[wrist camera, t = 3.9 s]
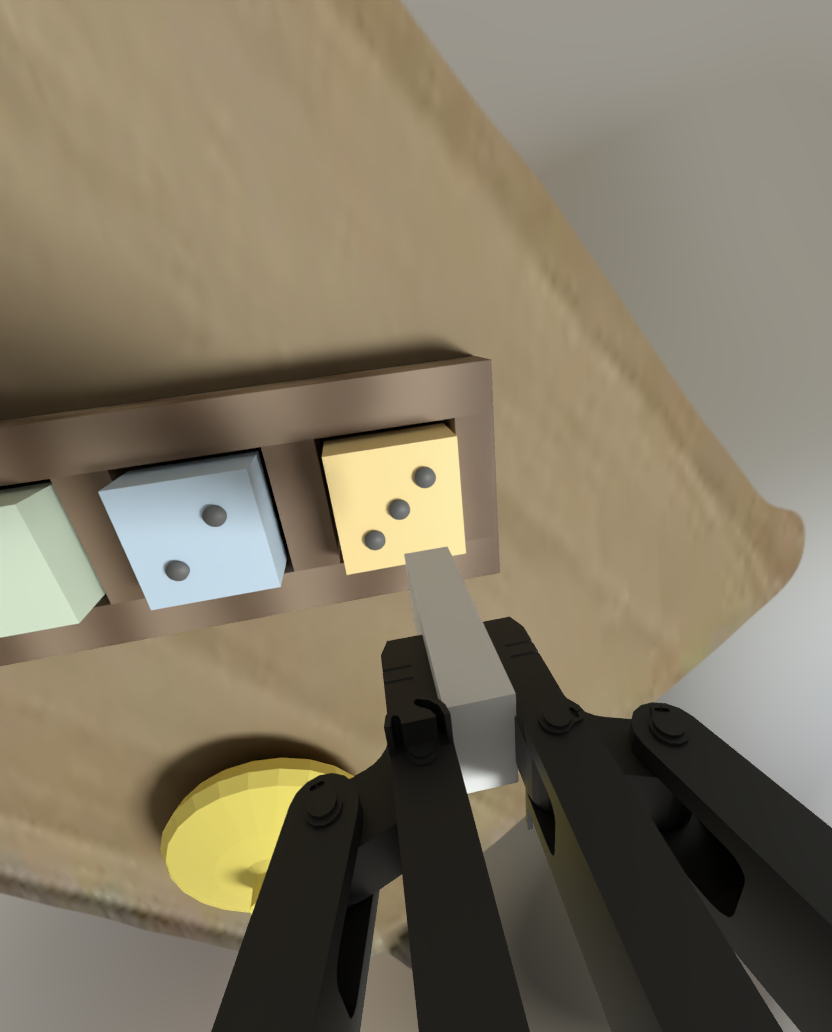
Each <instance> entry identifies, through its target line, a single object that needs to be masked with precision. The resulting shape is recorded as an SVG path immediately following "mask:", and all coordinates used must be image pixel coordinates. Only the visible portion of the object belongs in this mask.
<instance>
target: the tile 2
mask: <svg viewBox="0 0 832 1032" xmlns="http://www.w3.org/2000/svg"><path fill="white" fill-rule="evenodd" d="M98 493H99V495H100V497H101V499H102V502H103V504H104V506H105V508H106V511H107V513H108V515H109V517H110V519H111V522H112V524H113V526H114V528H115V531H116V533H117V535H118V537H119V540H120V542H121V544H122V546H123V548H124V551H125V553H126V555H127V557H128V560H129V562H130V564H131V566H132V569H133V571H134V573H135V575H136V578H137V580H138V582H139V584H140V586H141V589H142V591H143V593H144V595H145V598H146V600H147V602H148V604H149V607H150V609H151V610H156V609H161V608H167V607H172V606H178V605H184V604H189V603H195V602H200V601H206V600H211V599H217V598H222V597H228V596H233V595H239V594H244V593H250V592H255V591H261V590H266V589H272V588H277V587H281V583H282V579H283V575H284V570H285V566H286V562H287V555H286V551H285V547H284V544H283V540H282V536H281V533H280V529H279V525H278V522H277V518H276V514H275V511H274V507H273V503H272V500H271V496H270V492H269V489H268V485H267V481H266V478H265V474H264V470H263V467H262V463H261V459H260V456H259V452H258V451H254V452H248V453H241V454H235V455H228V456H221V457H215V458H208V459H202V460H195V461H188V462H182V463H175V464H168V465H162V466H155V467H149V468H142V469H135V470H129V471H127V472H126V473H125V474H123V475H122V476H120V477H119V478H117V479H116V480H114V481H113V482H111V483H110V484H109V485H107V486H106V487H104V488H103V489H101V490H100V491H98Z"/></svg>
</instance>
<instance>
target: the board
mask: <svg viewBox="0 0 832 1032" xmlns="http://www.w3.org/2000/svg"><path fill="white" fill-rule="evenodd" d="M438 420H443V423H444V424H445V425H446V426H447V427H448V428H449V429H450V430H451V431H452V432H453V433H454V434H455V435H456V436H457V442H458V455H459V468H460V481H461V494H462V507H463V520H464V533H465V546H466V553H465V554H460V555H454V556H452V557H453V559H454V561H455V563H456V566H457V568H458V570H459V572H460V574H461V576H462V579H463V580H464V579H469V578H475V577H480V576H485V575H491V574H496V573H500V563H499V538H498V514H497V489H496V465H495V440H494V416H493V391H492V367H491V360H490V359H486V358H481V357H477V356H469V357H461V358H454V359H447V360H440V361H432V362H425V363H418V364H410V365H403V366H396V367H388V368H381V369H374V370H367V371H359V372H352V373H345V374H337V375H330V376H323V377H315V378H308V379H301V380H294V381H286V382H279V383H272V384H264V385H257V386H250V387H242V388H235V389H228V390H221V391H213V392H206V393H199V394H191V395H184V396H177V397H169V398H162V399H155V400H148V401H140V402H133V403H126V404H118V405H111V406H104V407H96V408H89V409H82V410H74V411H67V412H60V413H53V414H45V415H38V416H31V417H23V418H16V419H9V420H1V421H0V486H5V485H12V484H18V483H25V482H31V481H38V480H45V479H50V480H51V482H52V484H53V486H54V488H55V491H56V493H57V495H58V497H59V499H60V501H61V503H62V505H63V507H64V509H65V511H66V513H67V515H68V517H69V519H70V521H71V523H72V525H73V527H74V529H75V531H76V533H77V535H78V537H79V539H80V541H81V544H82V546H83V548H84V550H85V552H86V554H87V556H88V558H89V560H90V562H91V564H92V566H93V568H94V570H95V572H96V574H97V576H98V578H99V580H100V582H101V584H102V586H103V588H104V590H105V592H106V593H105V595H104V596H103V597H102V598H101V599H100V600H99V601H98V603H97V604H96V605H95V606H94V607H93V608H92V609H91V611H90V612H89V613H88V614H87V615H86V616H85V617H84V619H83V620H82V621H81V622H80V623H79V624H73V625H67V626H62V627H56V628H51V629H45V630H40V631H34V632H29V633H23V634H18V635H12V636H7V637H1V638H0V666H3V665H9V664H14V663H20V662H25V661H30V660H36V659H41V658H46V657H52V656H57V655H62V654H68V653H73V652H78V651H84V650H89V649H95V648H100V647H105V646H111V645H116V644H121V643H127V642H132V641H137V640H143V639H148V638H153V637H159V636H164V635H170V634H175V633H180V632H186V631H191V630H196V629H202V628H207V627H212V626H218V625H223V624H228V623H234V622H239V621H244V620H250V619H255V618H261V617H266V616H271V615H277V614H282V613H287V612H293V611H298V610H303V609H309V608H314V607H319V606H325V605H330V604H336V603H341V602H346V601H352V600H357V599H362V598H368V597H373V596H378V595H384V594H389V593H394V592H400V591H405V590H409V584H408V577H407V571H406V564H405V565H399V566H394V567H388V568H382V569H377V570H371V571H366V572H360V573H355V574H349V575H347V574H346V569H345V564H344V559H343V555H342V550H341V545H340V541H339V536H338V531H337V526H336V522H335V517H334V512H333V507H332V503H331V498H330V493H329V489H328V484H327V479H326V474H325V470H324V465H323V460H322V449H321V445H320V440H319V438H324V437H331V436H338V435H344V434H351V433H358V432H364V431H371V430H378V429H384V428H391V427H398V426H404V425H411V424H418V423H424V422H431V421H438ZM258 447H261V449H262V453H263V457H264V460H265V464H266V468H267V471H268V475H269V479H270V483H271V486H272V490H273V494H274V497H275V501H276V505H277V509H278V512H279V516H280V520H281V523H282V527H283V531H284V535H285V538H286V542H287V546H288V549H285V551H286V555H287V562H286V566H285V570H284V575H283V579H282V583H281V587H277V588H272V589H266V590H261V591H255V592H250V593H244V594H239V595H233V596H228V597H222V598H217V599H211V600H206V601H200V602H195V603H189V604H184V605H178V606H172V607H167V608H161V609H156V610H151V609H150V607H149V604H148V602H147V600H146V598H145V595H144V593H143V591H142V589H141V586H140V584H139V582H138V580H137V578H136V575H135V573H134V571H133V569H132V566H131V564H130V562H129V560H128V557H127V555H126V553H125V551H124V548H123V546H122V544H121V542H120V540H119V537H118V535H117V533H116V531H115V528H114V526H113V524H112V522H111V519H110V517H109V515H108V513H107V511H106V508H105V506H104V504H103V502H102V499H101V497H100V495H99V493H98V491H100V490H101V489H103V488H104V487H106V486H107V485H109V484H110V483H111V482H113V481H114V480H116V479H117V478H119V477H120V476H122V475H123V474H125V473H126V472H127V471H129V470H135V469H141V467H140V465H145V464H151V463H158V462H165V461H171V460H178V459H185V458H191V457H198V456H205V455H211V454H218V453H225V452H231V451H238V450H244V449H251V448H258Z"/></svg>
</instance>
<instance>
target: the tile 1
mask: <svg viewBox="0 0 832 1032" xmlns="http://www.w3.org/2000/svg"><path fill="white" fill-rule="evenodd" d="M105 593H106V592H105V590H104V588H103V586H102V584H101V582H100V580H99V578H98V576H97V574H96V572H95V570H94V568H93V566H92V564H91V562H90V560H89V558H88V556H87V554H86V552H85V550H84V548H83V546H82V544H81V541H80V539H79V537H78V535H77V533H76V531H75V529H74V527H73V525H72V523H71V521H70V519H69V517H68V515H67V513H66V511H65V509H64V507H63V505H62V503H61V501H60V499H59V497H58V495H57V493H56V491H55V488H54V486H53V484H52V482H49V483H43V484H36V485H29V486H23V487H16V488H9V489H3V490H0V638H1V637H7V636H12V635H18V634H23V633H29V632H34V631H40V630H45V629H51V628H56V627H62V626H67V625H73V624H79V623H80V622H81V621H82V620H83V619H84V617H85V616H86V615H87V614H88V613H89V612H90V611H91V609H92V608H93V607H94V606H95V605H96V604H97V603H98V601H99V600H100V599H101V598H102V597H103V596H104V595H105Z"/></svg>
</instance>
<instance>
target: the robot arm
mask: <svg viewBox="0 0 832 1032" xmlns="http://www.w3.org/2000/svg"><path fill="white" fill-rule="evenodd" d="M404 557H405V564H406V571H407V577H408V584H409V591H410V598H411V605H412V612H413V619H414V623H415V628H416V632H417V636H412V637H407V638H402V639H397V640H391V641H387V643H386V645H385V647H384V650H383V652H382V654H381V660H382V669H383V678H384V688H385V697H386V707H387V715H386V717H385V724H384V730H385V735H386V740H387V747H386V749H385V751H384V753H383V754H382V756H381V757H380V758H379V759H378V760H377V761H376V763H375V764H373V765H372V766H371V767H369V768H368V769H366V770H365V771H363V772H361V773H359V774H357V775H356V776H354V777H352V778H350V779H348V778H347V777H346V776H345V775H340V774H336V773H329V774H323V775H319V776H317V777H315V778H314V779H312V780H310V781H308V782H307V783H306V784H305V785H304V786H303V787H302V788H301V789H300V790H299V791H298V792H297V793H296V794H295V796H294V798H293V800H292V802H291V804H290V806H289V808H288V811H287V814H286V817H285V820H284V823H283V826H282V828H281V831H280V834H279V837H278V840H277V843H276V846H275V849H274V852H273V855H272V857H271V860H270V863H269V866H268V869H267V872H266V875H265V878H264V881H263V883H262V886H261V889H260V892H259V895H258V898H257V901H256V904H255V907H254V910H253V912H252V915H251V918H250V921H249V924H248V927H247V930H246V933H245V936H244V938H243V941H242V944H241V947H240V950H239V953H238V956H237V959H236V962H235V965H234V967H233V970H232V973H231V976H230V979H229V982H228V985H227V988H226V991H225V994H224V996H223V999H222V1003H221V1005H220V1008H219V1011H218V1014H217V1017H216V1020H215V1023H214V1026H213V1028H212V1031H211V1032H360V1027H361V1020H362V1012H363V1006H364V999H365V991H366V984H367V976H368V970H369V962H370V955H371V948H372V941H373V934H374V926H375V919H376V912H377V905H378V898H379V890H380V889H381V888H382V887H384V886H385V885H387V884H388V883H390V882H391V881H393V880H394V879H396V878H397V877H399V876H400V875H401V874H402V876H403V885H404V895H405V904H406V914H407V923H408V933H409V942H410V952H411V961H412V971H413V980H414V990H415V998H416V1009H417V1019H418V1028H419V1032H530V1031H529V1027H528V1023H527V1020H526V1016H525V1012H524V1008H523V1004H522V1001H521V997H520V993H519V989H518V985H517V982H516V978H515V974H514V970H513V966H512V963H511V958H510V955H509V951H508V947H507V943H506V939H505V936H504V932H503V928H502V924H501V920H500V917H499V913H498V909H497V905H496V902H495V897H494V894H493V890H492V886H491V882H490V879H489V875H488V871H487V867H486V863H485V859H484V856H483V852H482V848H481V844H480V840H479V837H478V833H477V829H476V825H475V821H474V817H473V814H472V810H471V806H470V802H469V798H468V795H467V793H472V792H476V791H481V790H485V789H489V788H494V787H498V786H503V785H507V784H512V783H516V782H518V769H519V772H520V774H521V777H522V779H523V782H524V785H525V787H526V821H527V827H528V829H532V828H533V823H534V826H535V829H536V831H537V834H538V837H539V839H540V842H541V845H542V847H543V850H544V853H545V855H546V858H547V861H548V863H549V866H550V869H551V871H552V874H553V877H554V879H555V882H556V885H557V887H558V890H559V893H560V895H561V898H562V901H563V903H564V906H565V909H566V912H567V914H568V917H569V919H570V922H571V925H572V927H573V930H574V933H575V935H576V938H577V941H578V943H579V946H580V949H581V952H582V954H583V957H584V960H585V962H586V965H587V968H588V970H589V973H590V975H591V978H592V981H593V984H594V986H595V989H596V992H597V994H598V997H599V1000H600V1002H601V1005H602V1008H603V1010H604V1012H605V1016H606V1018H607V1021H608V1024H609V1026H610V1029H611V1031H612V1032H783V1031H782V1029H781V1027H780V1026H779V1024H778V1022H777V1021H776V1019H775V1018H774V1016H773V1014H772V1013H771V1011H770V1009H769V1008H768V1006H767V1005H766V1003H765V1002H764V1000H763V998H762V997H761V995H760V993H759V992H758V990H757V988H756V987H755V985H754V984H753V982H752V980H751V979H750V977H749V975H748V974H747V972H746V971H745V969H744V968H743V966H742V964H741V963H740V961H739V959H738V958H737V956H736V954H737V955H738V957H739V958H740V959H741V960H742V962H743V963H744V964H745V965H746V966H747V967H748V969H749V970H750V971H751V972H752V974H753V975H754V976H755V977H756V978H757V980H758V981H759V982H760V983H761V984H762V986H763V987H764V988H765V989H766V990H767V992H768V993H769V994H770V995H771V996H772V997H773V999H774V1000H775V1001H776V1002H777V1004H778V1005H779V1006H780V1007H781V1008H782V1010H783V1011H784V1012H785V1013H786V1014H787V1016H788V1017H789V1018H790V1019H791V1020H792V1022H793V1023H794V1024H795V1025H796V1026H797V1028H798V1029H799V1030H800V1031H801V1032H832V828H831V827H830V826H829V825H827V824H826V823H825V822H823V821H822V820H821V819H820V818H819V817H817V816H816V815H815V814H814V813H812V812H811V811H810V810H809V809H807V808H806V807H805V806H804V805H802V804H801V803H800V802H799V801H798V800H796V799H795V798H793V797H792V796H791V795H790V794H789V793H788V792H786V791H785V790H784V789H782V788H781V787H780V786H779V785H778V784H776V783H775V782H774V781H773V780H771V779H770V778H769V777H768V776H766V775H765V774H764V773H763V772H761V771H760V770H759V769H758V768H756V767H755V766H754V765H753V764H751V763H750V762H749V761H748V760H746V759H745V758H744V757H743V756H742V755H740V754H739V753H737V752H736V751H735V750H734V749H733V748H731V747H730V746H729V745H728V744H727V743H725V742H724V741H723V740H722V739H720V738H719V737H718V736H717V735H715V734H714V733H713V732H712V731H710V730H709V729H708V728H707V727H705V726H704V725H703V724H702V723H700V722H699V721H698V720H697V719H695V718H694V717H693V716H691V715H690V714H688V713H687V712H685V711H683V710H682V709H680V708H677V707H675V706H672V705H668V704H666V703H648V704H644V705H641V706H640V707H638V708H637V709H636V710H635V711H634V712H633V715H632V719H623V718H610V717H602V716H596V715H592V714H590V713H587V712H585V711H584V710H583V709H582V708H581V707H580V706H579V705H578V704H576V703H574V702H573V701H571V700H569V699H567V698H566V697H565V696H564V694H563V693H562V691H561V689H560V688H559V686H558V684H557V683H556V681H555V679H554V677H553V676H552V674H551V672H550V671H549V669H548V667H547V666H546V664H545V662H544V661H543V659H542V657H541V656H540V654H538V650H537V649H536V647H535V645H534V644H533V643H532V641H531V639H530V637H529V635H528V634H527V632H526V630H525V628H524V627H523V626H522V625H520V624H519V623H518V622H516V621H515V620H513V619H512V618H511V617H506V618H501V619H495V620H490V621H485V622H482V620H481V617H480V615H479V613H478V611H477V609H476V607H475V604H474V602H473V600H472V598H471V596H470V594H469V592H468V589H467V587H466V585H465V583H464V581H463V579H462V576H461V574H460V572H459V570H458V568H457V566H456V563H455V561H454V559H453V557H452V555H451V553H450V550H449V548H448V546H447V547H441V548H435V549H429V550H424V551H418V552H412V553H406V554H404ZM734 952H735V953H736V954H735V953H734Z"/></svg>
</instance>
